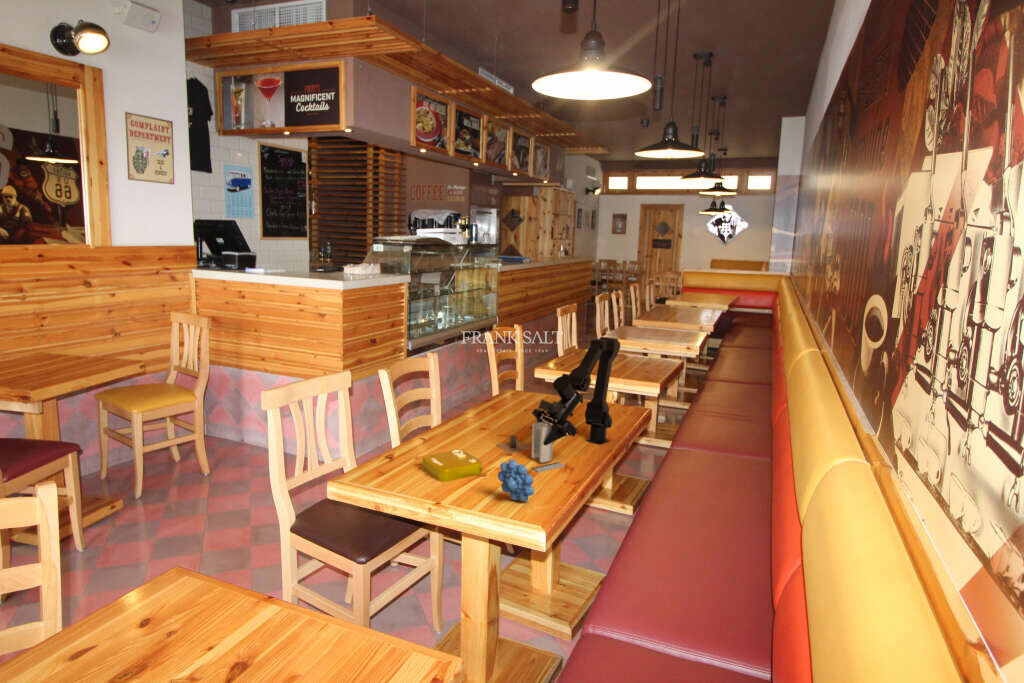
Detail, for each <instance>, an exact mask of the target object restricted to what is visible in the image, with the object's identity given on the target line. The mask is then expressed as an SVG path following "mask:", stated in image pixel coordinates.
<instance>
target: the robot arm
mask: <svg viewBox="0 0 1024 683" xmlns="http://www.w3.org/2000/svg"><path fill="white" fill-rule="evenodd" d="M589 345H590V346H588V348H587V351H586V352H585V354H584V356H583V358H582V360H581V361H580V363H579V365H578V366H577V367H575V368H574V369H572V370H571V371H570V373H568V374H567V373H562V375H561V376H559V377H557V378H556V379H554V380H553V383H552V386H553V390H555V391H556V394H557V395H558V396H559V398H560V399H559V400H558V401H553V402H549V401H547V400H544V399H541V400H540V403H539V405H538V408H534V410H532V412H531V415H532V416H534V417H535V419H536V423H537V422H542V421H544V422H546V423H548V424H551V425H553V426H552V431H551V432H550V434H549V435H548V437H547V438H546V440H545V441H544V445H545V446H546V445H548V444H550V443H552V442H553V443H554V442H556V441H557V440H559V439H561V438H563V437H564V438H565V437H568V436H569V437H572V438H574V437H575V436H576V435H577V432H578V430H577V427H576V426H575V425H574V424H573V423H572V422H571V421H570V420H568V419H569V417H573V416H574V413H573V411H574V410H575V409H576V407H578V405H579V403H580V404H583V403H584V395H583V394H581V393H580V392H587V391H588V390H589V388H590V385H591V382H592V378H591V375H592V373H593V371H594V368H595V367H596V365H597V363H598V365H597V366H598V367H597V371H596V377H595V384H594V390H593V397H592V399H591V400H589V401H588V402H587V403H586V408H585V412H584V418H585V424H586V425H588V426H590V430H589V437H588V438H587V439H586V442H589V443H590V442H591V443H593V444H598V445H603V444H605V443H608V442H610V438H607V433H608V432H607V430H608V429H609V428H612V425H613V419H612V417H611V415H610V407H609V405H608V402H607V397H608V396H607V395H608V390H609V383H610V376H611V371H612V365H613V362H614V360H616V358H617V357H618V355H619V351H620V349H621V342H620V341H619V340H618V338H615V337H608V336H607V337H606V336H601V337H600V338H594V339H591V341H590V344H589Z"/></svg>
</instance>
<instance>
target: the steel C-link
mask: <svg viewBox="0 0 1024 683" xmlns="http://www.w3.org/2000/svg"><path fill="white" fill-rule="evenodd" d="M552 426H553V424H551V423H549V424H548V423H546V422H544V421H542V422H537V421H536V422H532V430H531V431H532V432H531V433H532V434H531V435H532V436H531V447H532V449H531V458H532V459H537V458H539V462H540V463H541V464H543V463H547V462H550V461H553V451H554V450H553V449H554V448H553V447H554V446H553V444H554V442H552V443H550V444H548V445H546V446H545V445H544V441H545V440H546V438H547V437H548V435H549V434H550V432H551V431H552Z"/></svg>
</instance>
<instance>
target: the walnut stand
mask: <svg viewBox="0 0 1024 683" xmlns="http://www.w3.org/2000/svg"><path fill="white" fill-rule="evenodd" d="M495 446H496V447H498V448H500V449H502V450H504V451H505V452H507V453H509V454H515V453H519V452H525V451H528V450H529V451H530V450H532V446H530V445H528V444H526V443H524V442H522V441H520V440H517V435H510V442H505V443H504V442H503V443H498V444H495Z"/></svg>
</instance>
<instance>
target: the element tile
mask: <svg viewBox="0 0 1024 683" xmlns="http://www.w3.org/2000/svg"><path fill="white" fill-rule="evenodd" d="M482 464H483V463H482V460H480V459H479V458H477V457H475V456H474V455H472V454H470V453H468V452H467V451H465V450H462V449H459V448H458V449H451V450H449V451H448V450H447V451H443V452H442V451H441V452H438V453H433V454H428V455H424V456H423V457H422V470H423V471H424V472H426V473H427V474H429V475H430V476H431V477H433V478H435V479H436V480H438V481H439V482H441V483H449V482H453V481H457V480H462V479H466V478H471V477H476V476H479V475H481V474H483V473H482V469H483V468H482V467H483V466H482Z"/></svg>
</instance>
